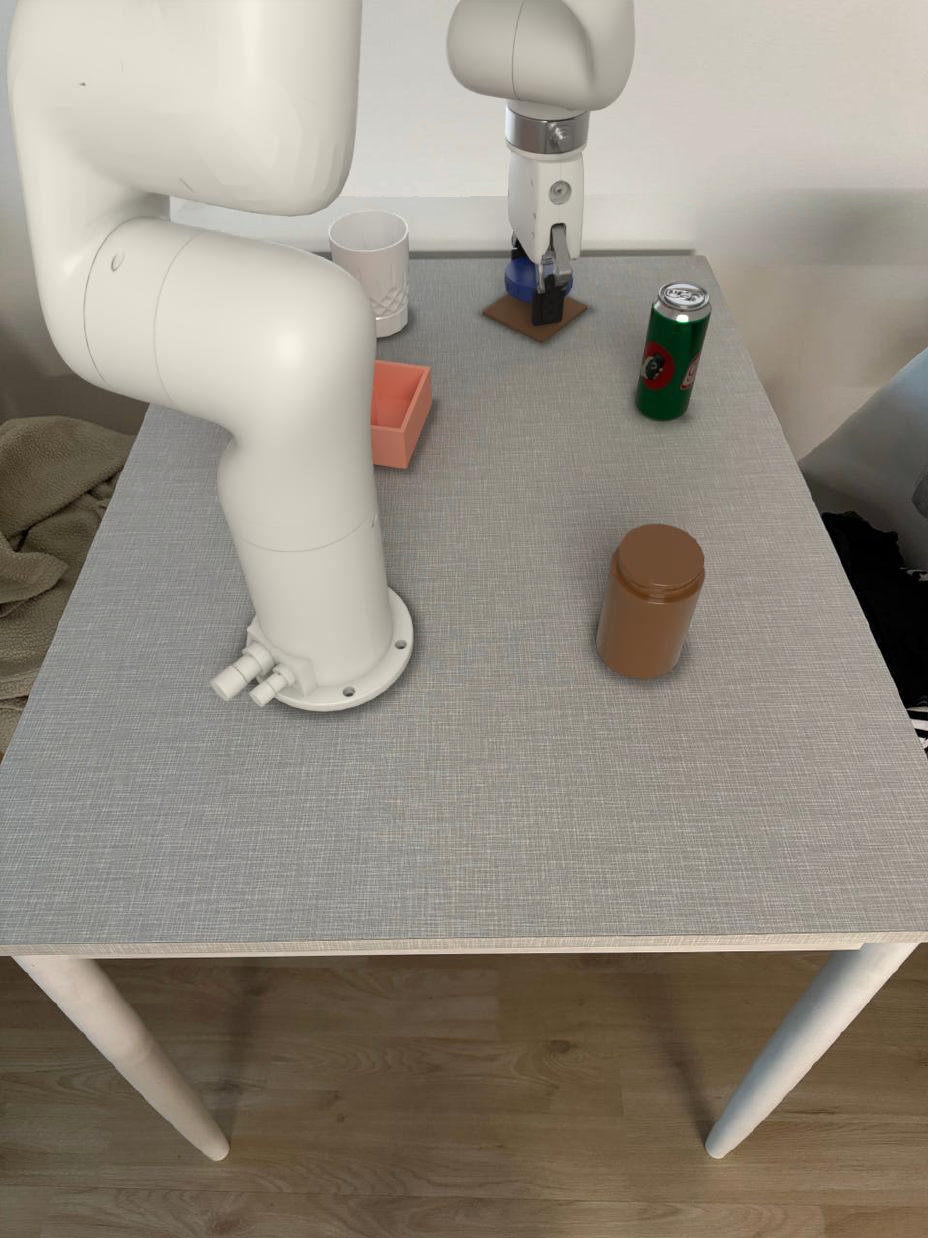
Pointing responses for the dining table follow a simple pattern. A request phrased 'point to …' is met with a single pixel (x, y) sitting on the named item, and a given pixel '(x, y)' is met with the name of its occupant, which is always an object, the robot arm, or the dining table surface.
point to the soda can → (672, 350)
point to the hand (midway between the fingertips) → (535, 301)
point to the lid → (527, 278)
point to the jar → (649, 600)
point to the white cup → (376, 262)
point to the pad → (520, 315)
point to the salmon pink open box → (398, 411)
